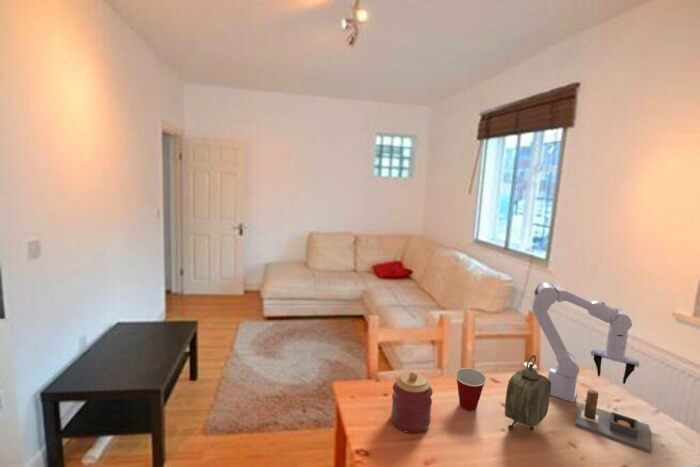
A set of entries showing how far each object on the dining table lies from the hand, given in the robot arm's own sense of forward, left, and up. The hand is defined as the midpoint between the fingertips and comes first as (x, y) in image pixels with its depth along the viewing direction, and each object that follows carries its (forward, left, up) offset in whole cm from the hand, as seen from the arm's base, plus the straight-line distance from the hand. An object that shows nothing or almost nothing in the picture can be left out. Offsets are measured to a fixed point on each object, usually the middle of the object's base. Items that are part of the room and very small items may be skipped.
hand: (611, 378), depth 141 cm
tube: (-24, -20, -10) cm, 33 cm away
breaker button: (+5, -16, -8) cm, 19 cm away
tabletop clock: (-21, -35, -10) cm, 42 cm away
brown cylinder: (-5, -16, -9) cm, 19 cm away
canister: (-52, -57, -10) cm, 78 cm away
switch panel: (+2, -16, -10) cm, 19 cm away
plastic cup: (-40, -36, -10) cm, 55 cm away
